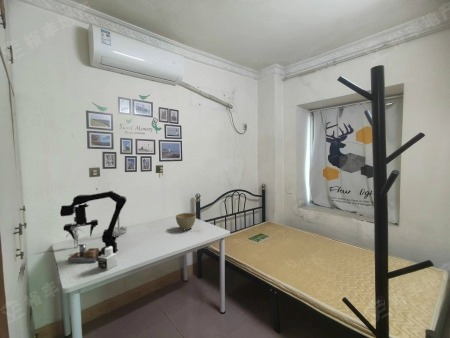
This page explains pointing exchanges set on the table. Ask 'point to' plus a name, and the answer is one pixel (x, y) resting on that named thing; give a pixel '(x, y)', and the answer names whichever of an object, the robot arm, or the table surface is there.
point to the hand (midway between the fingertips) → (82, 237)
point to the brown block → (91, 253)
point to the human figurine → (76, 234)
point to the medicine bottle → (107, 258)
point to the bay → (82, 256)
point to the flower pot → (185, 220)
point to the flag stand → (119, 229)
